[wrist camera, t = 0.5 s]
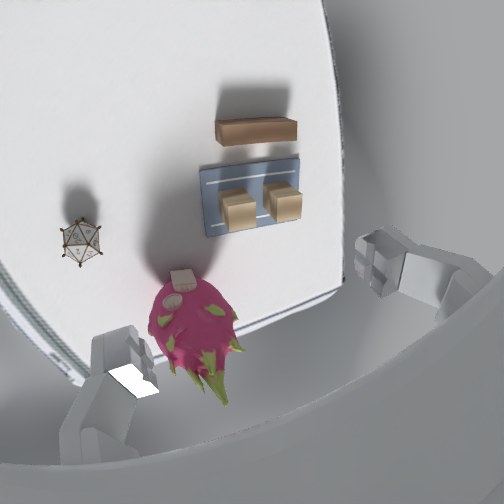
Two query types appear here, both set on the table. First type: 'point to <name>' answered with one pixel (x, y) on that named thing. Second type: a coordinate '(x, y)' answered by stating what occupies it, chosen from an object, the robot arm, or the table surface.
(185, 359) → the pink dragon fruit
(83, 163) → the table surface
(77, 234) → the game die
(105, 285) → the table surface
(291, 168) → the blueprint board
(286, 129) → the walnut lintel
